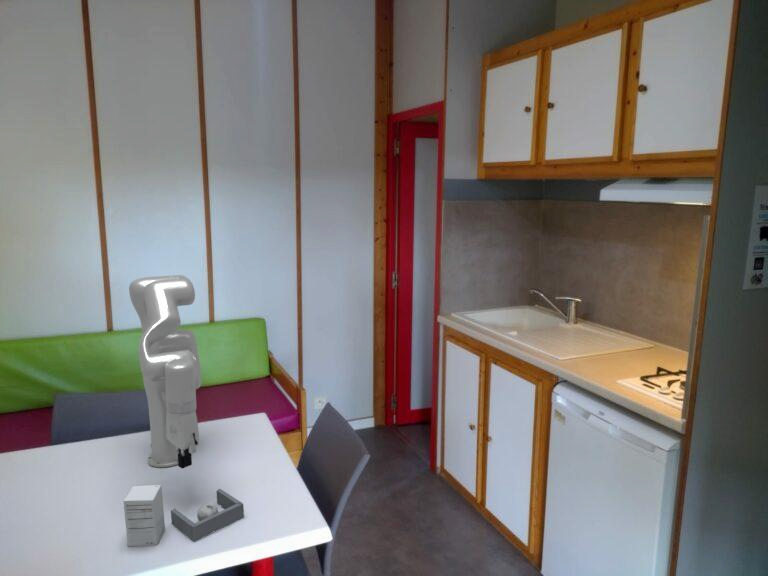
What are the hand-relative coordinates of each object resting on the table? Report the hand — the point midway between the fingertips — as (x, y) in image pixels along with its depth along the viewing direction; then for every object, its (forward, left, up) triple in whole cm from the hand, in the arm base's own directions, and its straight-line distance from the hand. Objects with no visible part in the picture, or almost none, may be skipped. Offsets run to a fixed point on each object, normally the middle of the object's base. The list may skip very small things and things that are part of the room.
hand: (185, 465), depth 161 cm
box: (+11, 0, -12) cm, 16 cm away
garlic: (+12, -1, -12) cm, 17 cm away
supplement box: (+7, -15, -12) cm, 20 cm away
